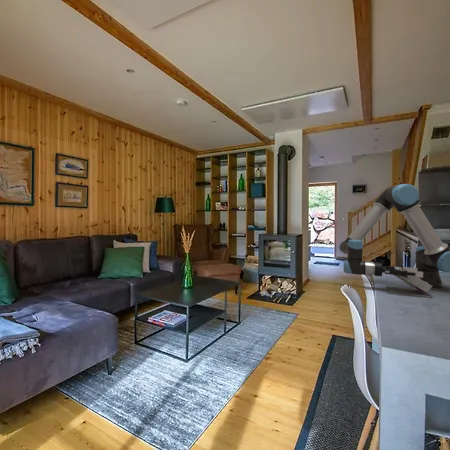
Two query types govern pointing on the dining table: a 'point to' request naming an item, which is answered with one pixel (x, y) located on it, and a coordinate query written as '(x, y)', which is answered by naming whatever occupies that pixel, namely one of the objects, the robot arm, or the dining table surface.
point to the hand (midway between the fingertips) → (420, 272)
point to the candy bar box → (415, 281)
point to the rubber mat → (407, 292)
